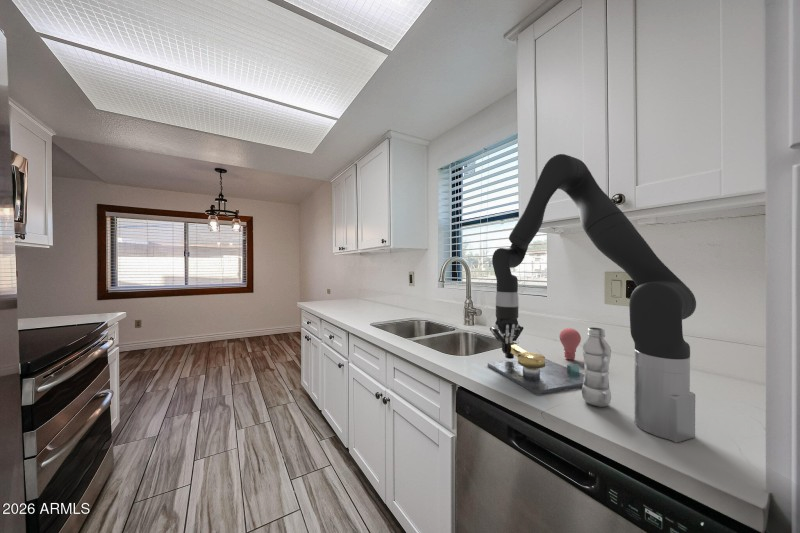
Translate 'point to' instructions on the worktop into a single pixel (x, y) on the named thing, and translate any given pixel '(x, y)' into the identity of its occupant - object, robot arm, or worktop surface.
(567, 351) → the light bulb
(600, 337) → the plastic bottle
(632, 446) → the worktop surface
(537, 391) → the base
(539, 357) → the gold long piece
